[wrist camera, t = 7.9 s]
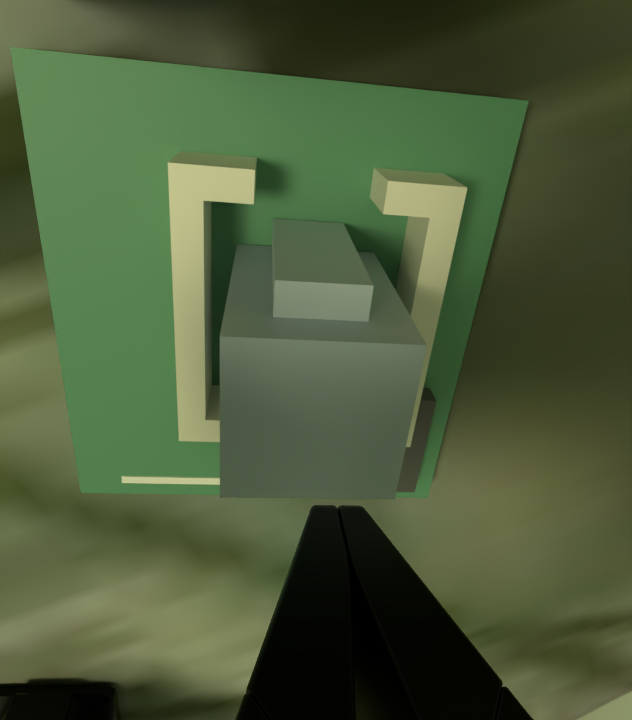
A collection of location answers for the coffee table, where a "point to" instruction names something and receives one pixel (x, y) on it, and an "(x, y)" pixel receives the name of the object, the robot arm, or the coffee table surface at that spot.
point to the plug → (314, 369)
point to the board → (239, 235)
